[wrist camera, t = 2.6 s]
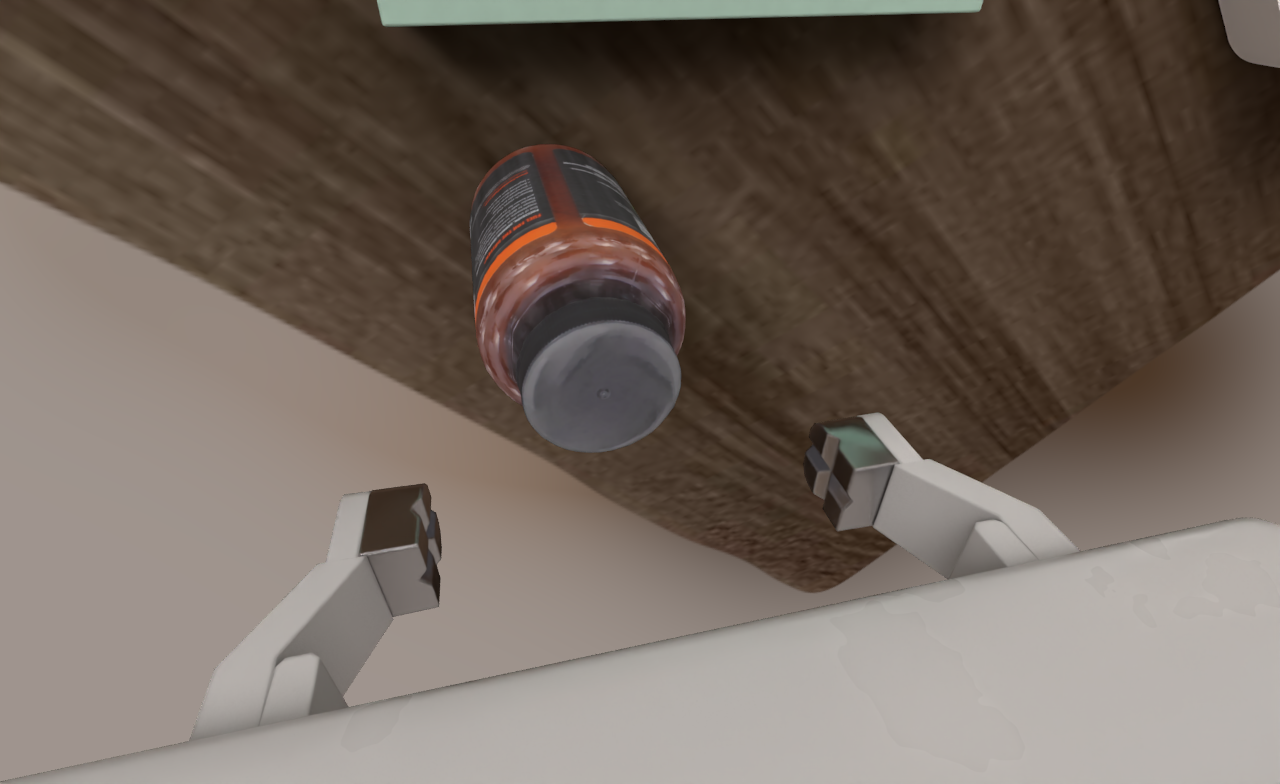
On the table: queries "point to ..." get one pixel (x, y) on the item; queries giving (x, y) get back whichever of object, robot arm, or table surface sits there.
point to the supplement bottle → (573, 300)
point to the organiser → (642, 10)
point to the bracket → (1253, 29)
